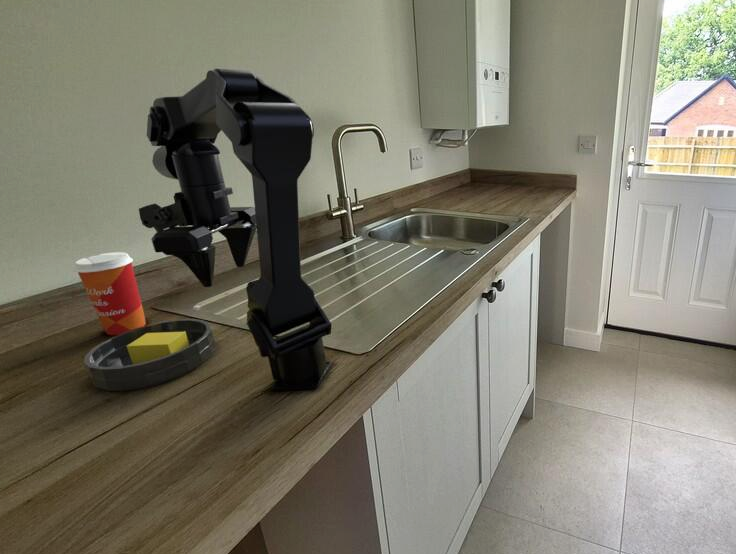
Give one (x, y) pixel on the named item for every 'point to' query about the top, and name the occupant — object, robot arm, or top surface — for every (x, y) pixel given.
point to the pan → (118, 373)
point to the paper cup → (112, 291)
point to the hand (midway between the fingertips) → (225, 276)
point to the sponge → (156, 346)
